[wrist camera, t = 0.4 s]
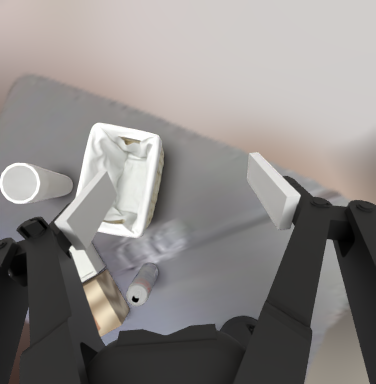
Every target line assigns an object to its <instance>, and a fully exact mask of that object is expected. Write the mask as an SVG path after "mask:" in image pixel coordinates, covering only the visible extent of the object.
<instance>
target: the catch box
mask: <svg viewBox="0 0 376 384" xmlns="http://www.w3.org/2000/svg"><path fill="white" fill-rule="evenodd" d="M69 250H70V252H71V253H72V256H73V259H74V262H75V265H76V267H77V270H78V273H79V276H80V279H81V282H83V281H85V280H87V279H89V278H90V277H92V276H94V275H96V274H97V273H98V272H100V271H101V270H102V269H103V268H104V267H105V265H104V263H103V261H102V259H101V258H100V256H99V254H98V252H97V251H96V249H95V247H94V245H93V244H92V242H91V243H90V245H89V247H88V248H87V250H77V251H76V250H75V248H74V247H73V246H71V247H70V249H69Z"/></svg>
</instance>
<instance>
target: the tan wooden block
mask: <svg viewBox="0 0 376 384" xmlns="http://www.w3.org/2000/svg"><path fill="white" fill-rule="evenodd" d="M82 285H83V288H84V291H85V294H86V297H87V300H88V303H89V306H90V308H91V311H92V314H93V316H94V318H95V319H96V321H97V323H98V325H99V326H100V330H99V331H98V332H99V335H100V337H101V336H103V335H105V334H107V333H108V332H110V331H112V330H114V329H115V328H117V327H119V326H121V325H122V324H123V322H124V320H125V318H126V316H127V314H128V312H129V310H130V308H129V307H128V305H127V303H126V301H125V300H124V298H123V296H122V294H121V293H120V291H119V289H118V287H117V286H116V284H115V282H114V280H113V279H112V277H111V275H110V273H109V272H108V270H105V271H103V272H101V273H100V274H98V275H96V276H94V277H93V278H91V279H89V280H88V281H86V282H84V283H82Z"/></svg>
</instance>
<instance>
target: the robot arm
mask: <svg viewBox="0 0 376 384" xmlns="http://www.w3.org/2000/svg"><path fill="white" fill-rule="evenodd" d="M247 181H248V183H249V184H250V186H251V187H252V189H253V191H254V192H255V194H256V195H257V197H258V199H259V200H260V202H261V203H262V205H263V207H264V208H265V210H266V211H267V213H268V215H269V216H270V218H271V219H272V221H273V223H274V224H275V226H276V227H277V229H278V230H286V229H290V228H291V225H292V223H293V224H294V225H295V227H294V230H293V232H292V235H291V238H290V240H289V243H288V245H287V248H286V250H285V253H284V256H283V258H282V261H281V263H280V266H279V269H278V271H277V274H276V276H275V279H274V281H273V284H272V287H271V289H270V292H269V294H268V297H267V299H266V301H265V303H264V306H263V308H262V311H261V313H260V316H259V318H258V321H257V320H255V319H253V318H250V317H245V316H240V317H235V318H233V319H231V320H229V321H228V322H226V323H225V324H224V325H223V327H222V328H221V330H220V331H217V330H216V328H215V324H206V325H193V326H189V327H187V328H184V329H182V330H179V331H177V332H174V333H172V334H170V335H161V334H158V333H154V332H150V331H147V330H143V329H141V330H128V331H120V332H119V336H118V339H117V340H115V341H113V342H111V343H110V344H108V345H107V346H105V344H104V343H103V341H102V339H101V337H100V335H99V332H98V329H97V326H96V323H95V320H94V317H93V314H92V311H91V308H90V306H89V303H88V300H87V297H86V294H85V291H84V288H83V285H82V282H81V279H80V276H79V273H78V270H77V267H76V265H75V262H74V259H73V256H72V253H71V252H70V250H69V249H70V247H71V246H73V247H74V248H75V250H76V251H77V250H87V248H88V247H89V245H90V243H91V241H92V239H93V238H94V236H95V234H96V232H97V230H98V229H99V227H100V225H101V223H102V222H103V220H104V218H105V216H106V214H107V213H108V211H109V209H110V207H111V205H112V204H113V202H114V200H115V198H116V196H117V193H116V190H115V188H114V186H113V183H112V181H111V179H110V177H109V174H108V172H107V171H101V172H98V173H97V175H96V176H95V177H94V178H93V179H92V180H91V181H90V182H89V184H88V185H87V186H86V187H85V188H84V189H83V190H82V191H81V193H80V194H79V195H78V196H77V197H76V198H75V199H74V200H73V201H72V202H71V203H69V204H68V205H66V207H65V208H64V209H63V210H62V211H61V212H60V213H59V215H57V216H56V218H55V219H54V220H53V221H52V222H51V223H50V224H49V225H48V224H47V223H46V221H45V220H44V219H43V218H42V217H34V218H32V219H29V220H27V221H25V222H24V223H22V224H21V225H20V226H19V227H18V228H17V231H18V232H19V233H20V234H21V235H22V236H23V237H24V238H25V239H26V240H22V241H19V242H15V241H14V240H13V239H12V238H5V239H2V240H0V384H8V383H9V379H10V375H11V371H12V367H13V363H14V360H15V356H16V352H17V348H18V344H19V341H20V337H21V333H22V329H23V326H24V322H25V318H26V314H27V310H28V307H29V323H30V347H29V348H27V349H26V350H25V351H23V353H22V354H21V356H20V384H304V380H305V375H306V369H307V363H308V358H309V352H310V346H311V340H312V330H311V328H310V324H311V318H312V313H313V308H314V303H315V297H316V292H317V287H318V282H319V277H320V271H321V266H322V261H323V256H324V250H325V245H326V240H327V239H331V240H333V243H334V247H335V251H336V255H337V258H338V262H339V266H340V270H341V274H342V278H343V282H344V285H345V289H346V293H347V297H348V301H349V305H350V309H351V312H352V316H353V320H354V324H355V328H356V332H357V336H358V339H359V343H360V347H361V351H362V355H363V358H364V362H365V366H366V370H367V374H368V378H369V382H370V384H376V205H375V204H373V203H370V202H367V201H362V200H354V201H351V202H349V204H348V206H347V207H342V206H332V204H331V203H330V202H329V201H327V200H325V199H322V198H319V197H313V196H312V195H311V194H310V193H308V192H307V191H306V190H305V189H304V188H303V187H301V185H300V184H298V182H296V181H295V180H294V179H293V178H291V177H288V176H281V175H280V174H279V173H278V172H277V171H276V170H275V169H274V168H273V167H272V166H271V165H270V164H269V163H268V162H267V161H266V160H265V159H264V158H263V157H262V156H261V155H260V154H259V153H258V152H256V153H249V161H248V172H247ZM9 274H10V276H9Z"/></svg>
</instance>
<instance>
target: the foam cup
mask: <svg viewBox="0 0 376 384" xmlns="http://www.w3.org/2000/svg"><path fill="white" fill-rule="evenodd" d="M0 187H1V192H2V193H3V195H4V196H5V197H6V199H8V200H10V201H12V202H14V203H34V202H36V201H41V200H46V199H51V198H55V197H60V196H65V195H67V194H69V193H70V192H71V191H72V188H73V183H72V180H71V179H70V178H69V177H68V176H66V175H63V174H60V173H56V172H53V171H50V170H47V169H44V168H40V167H38V166H36V165H33V164H27V163H14V164H12V165H10V166H8V167H7V168H6V169H5V170H4V172H3V173H2V175H1V179H0Z"/></svg>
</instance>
